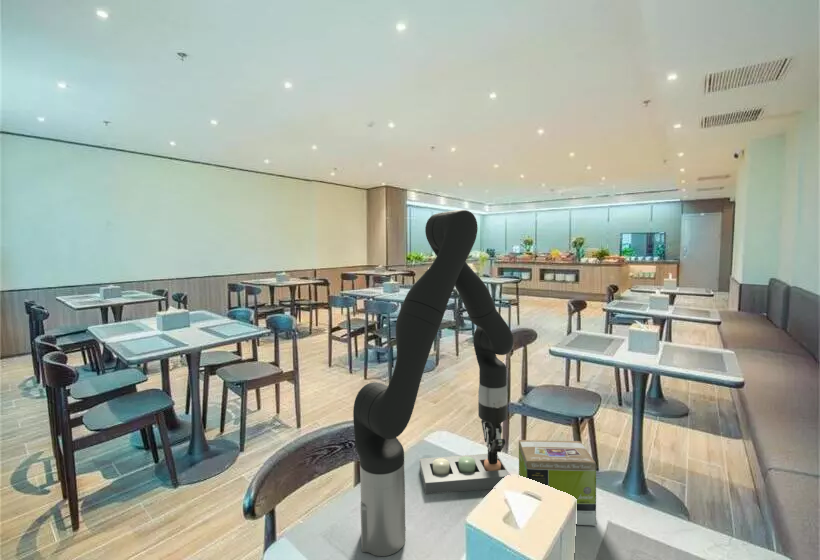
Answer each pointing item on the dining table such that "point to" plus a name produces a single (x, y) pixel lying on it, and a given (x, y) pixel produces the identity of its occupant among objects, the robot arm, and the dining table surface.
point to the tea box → (562, 471)
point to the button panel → (460, 475)
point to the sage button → (466, 465)
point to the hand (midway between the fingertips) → (492, 462)
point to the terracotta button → (492, 466)
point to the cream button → (440, 466)
